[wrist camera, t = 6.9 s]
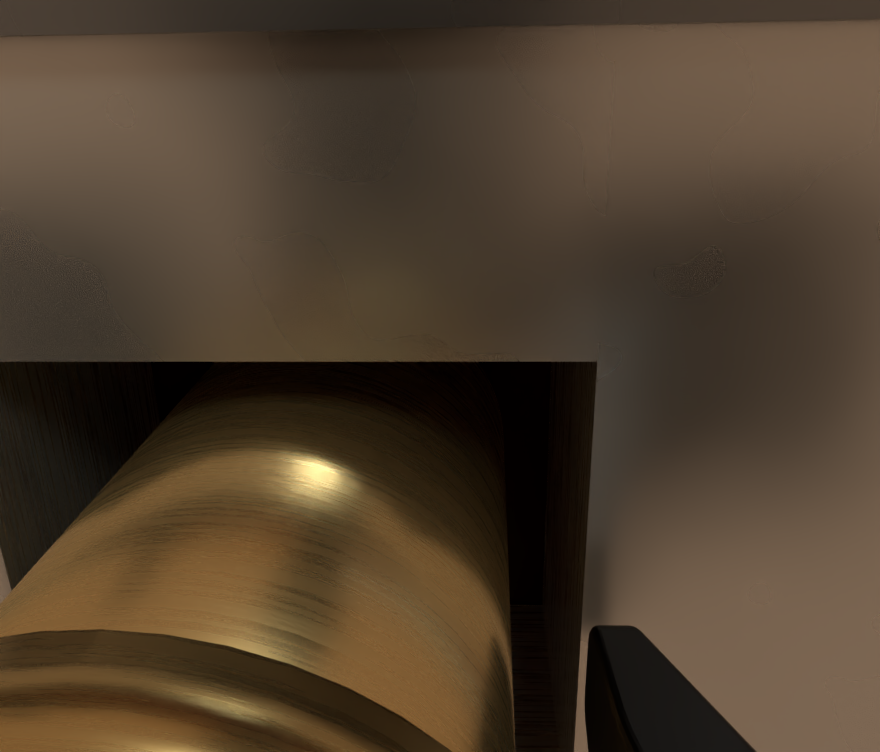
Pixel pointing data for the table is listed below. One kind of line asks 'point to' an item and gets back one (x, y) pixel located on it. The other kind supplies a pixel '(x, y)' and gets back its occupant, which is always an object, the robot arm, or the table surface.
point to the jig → (491, 290)
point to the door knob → (280, 575)
